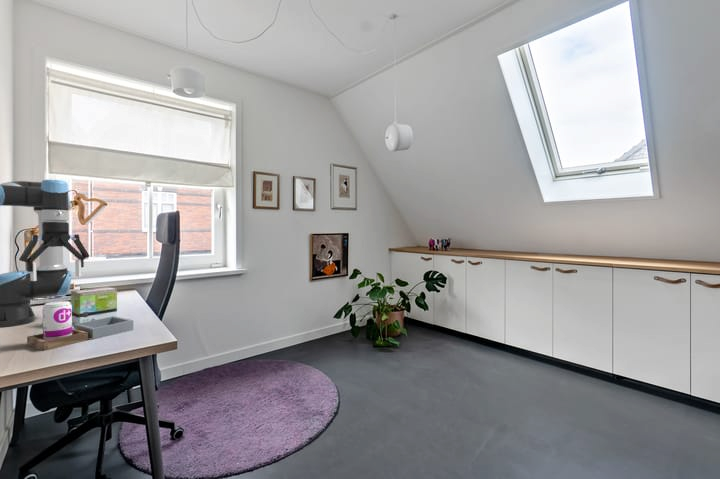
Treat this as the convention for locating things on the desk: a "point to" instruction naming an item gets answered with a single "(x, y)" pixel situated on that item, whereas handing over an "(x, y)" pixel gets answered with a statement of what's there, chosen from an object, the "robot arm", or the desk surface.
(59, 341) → the tray
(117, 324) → the tray
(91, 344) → the desk surface
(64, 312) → the supplement can
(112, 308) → the tea box
